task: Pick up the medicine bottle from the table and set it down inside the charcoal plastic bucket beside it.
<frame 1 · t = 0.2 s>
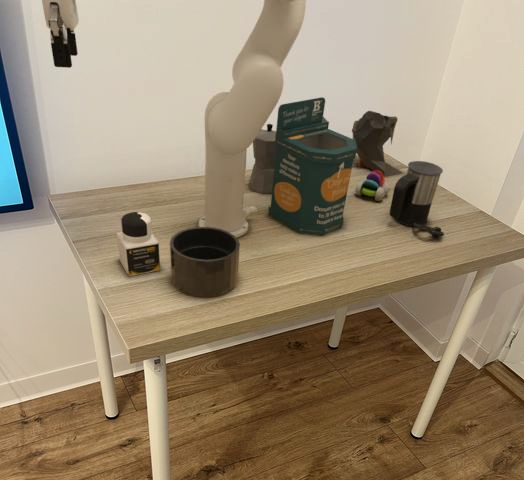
hand: (66, 60, 105), 37 cm above the table, tool pointing down, fingers open, 9 cm apart
medicine bottle: (140, 266, 118), on the table
bucket: (204, 279, 116), on the table
rainbow caterpillar toy: (371, 196, 157), on the table
milk frother: (418, 227, 144), on the table
grey walrus sculpture: (370, 168, 175), on the table
coffeepot: (266, 189, 155), on the table
donation box: (310, 220, 142), on the table
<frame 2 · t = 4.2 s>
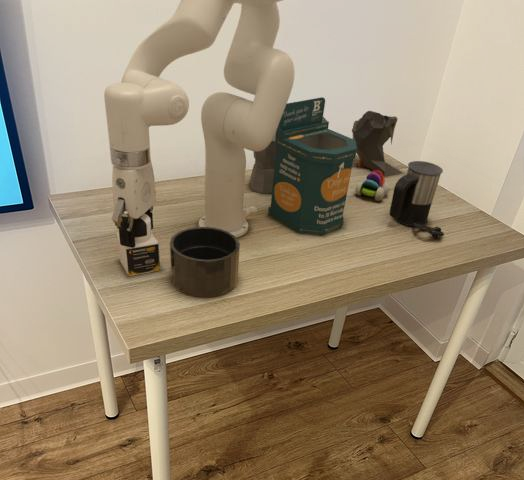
hand: (137, 236, 113), 7 cm above the table, tool pointing down, fingers closed on medicine bottle, 7 cm apart
medicine bottle: (139, 266, 118), on the table, touching gripper
everything else where it was.
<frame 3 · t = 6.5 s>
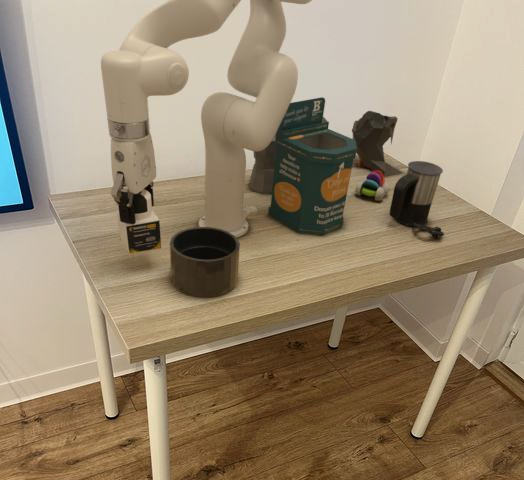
hand: (137, 213, 110), 13 cm above the table, tool pointing down, fingers closed on medicine bottle, 7 cm apart
medicine bottle: (140, 245, 115), point 5 cm above the table, touching gripper
everything else where it was.
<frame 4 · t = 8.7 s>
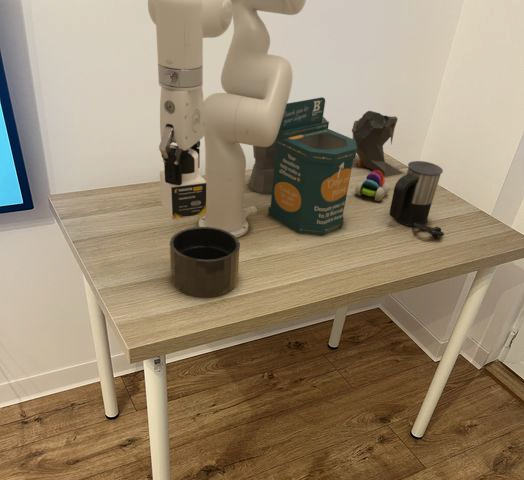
hand: (182, 174, 102), 23 cm above the table, tool pointing down, fingers closed on medicine bottle, 7 cm apart
medicine bottle: (183, 211, 107), point 15 cm above the table, touching gripper
everything else where it was.
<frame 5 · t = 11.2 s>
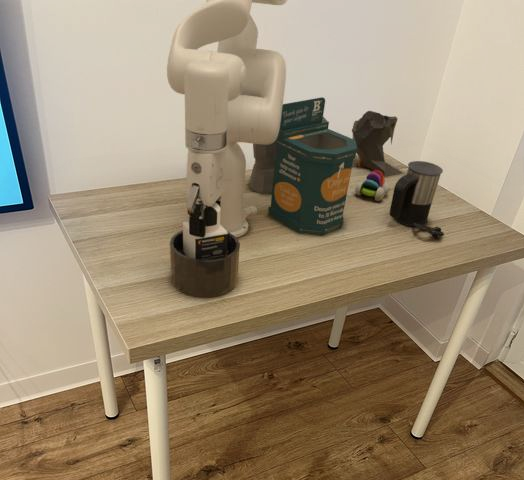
hand: (205, 225, 108), 13 cm above the table, tool pointing down, fingers closed on medicine bottle, 7 cm apart
medicine bottle: (204, 258, 112), point 5 cm above the table, touching gripper
everything else where it was.
when the fingers open (8 cm above the table, at t = 13.1 s): medicine bottle stays where it is, resting on bucket.
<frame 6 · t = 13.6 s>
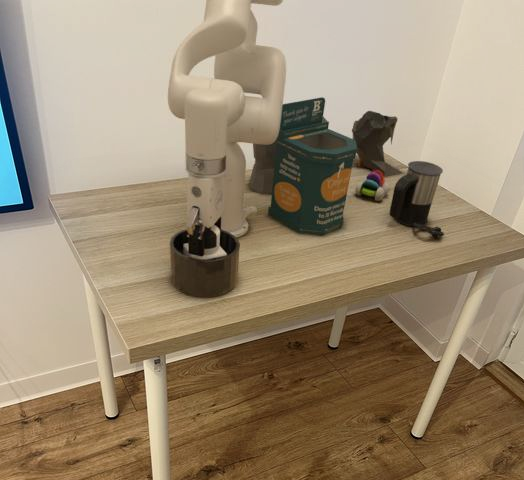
hand: (205, 243, 110), 9 cm above the table, tool pointing down, fingers open, 9 cm apart
medicine bottle: (204, 278, 116), resting on bucket
everything else where it was.
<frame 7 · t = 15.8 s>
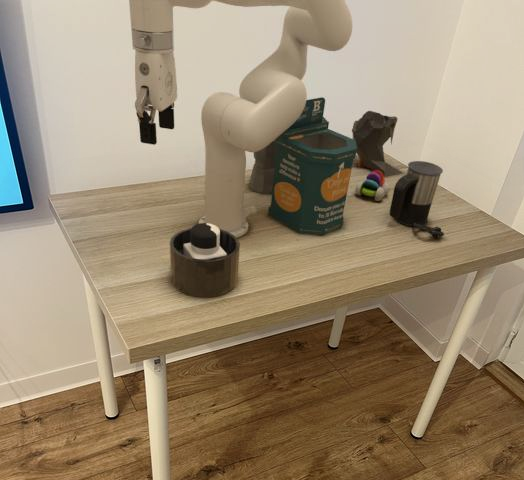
hand: (158, 135, 108), 26 cm above the table, tool pointing down, fingers open, 9 cm apart
nothing on the table moved.
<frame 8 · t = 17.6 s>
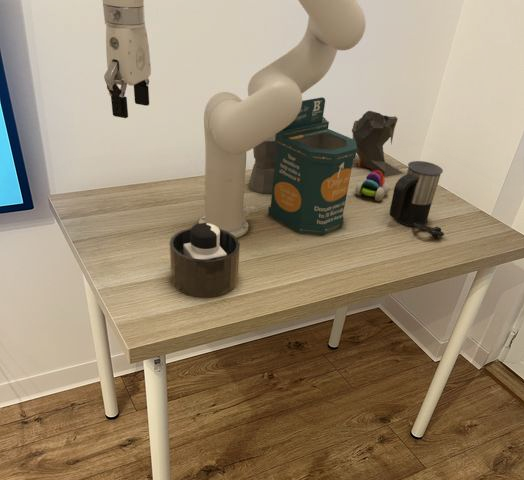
hand: (131, 110, 112), 28 cm above the table, tool pointing down, fingers open, 9 cm apart
nothing on the table moved.
at the end: medicine bottle inside the target area in the bucket (0.0 cm from its centre), point 0.4 cm above the bucket's base; the gripper is holding nothing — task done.
